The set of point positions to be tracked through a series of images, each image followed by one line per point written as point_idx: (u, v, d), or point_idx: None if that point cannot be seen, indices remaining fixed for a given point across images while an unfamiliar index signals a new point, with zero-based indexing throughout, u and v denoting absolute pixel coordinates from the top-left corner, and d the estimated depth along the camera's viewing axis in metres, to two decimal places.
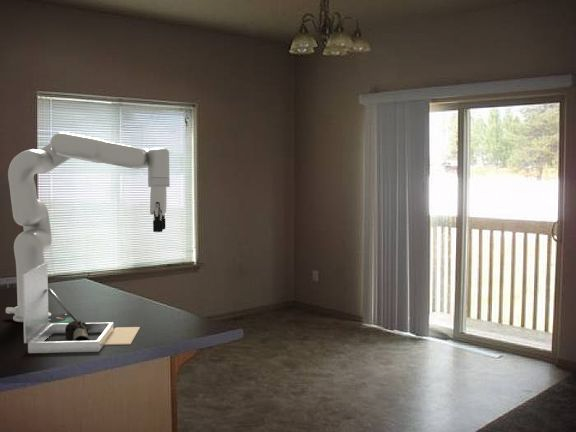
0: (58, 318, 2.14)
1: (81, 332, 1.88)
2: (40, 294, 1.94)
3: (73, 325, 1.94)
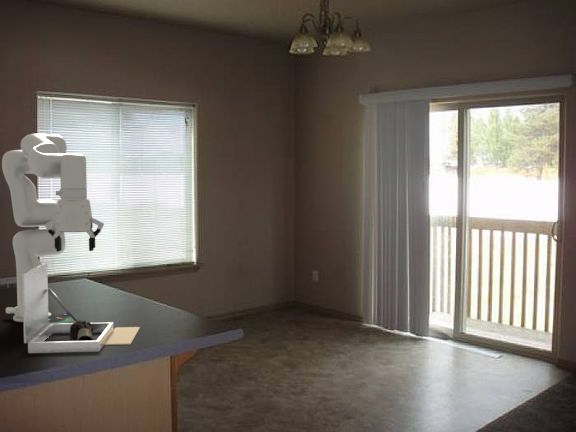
0: (58, 318, 2.14)
1: (85, 332, 1.88)
2: (40, 294, 1.94)
3: (78, 325, 1.95)
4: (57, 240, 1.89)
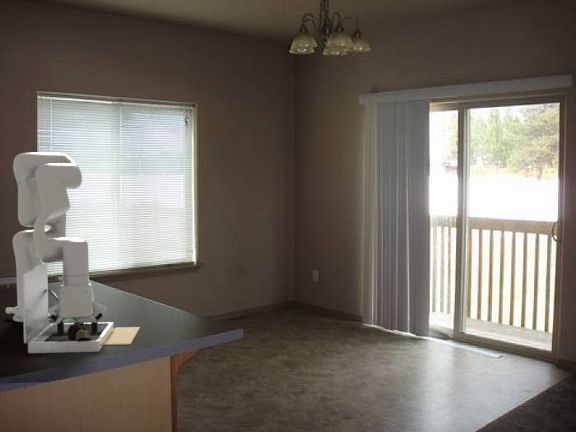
0: None
1: (84, 333, 1.87)
2: (40, 294, 1.94)
3: (76, 326, 1.93)
4: (60, 326, 1.90)
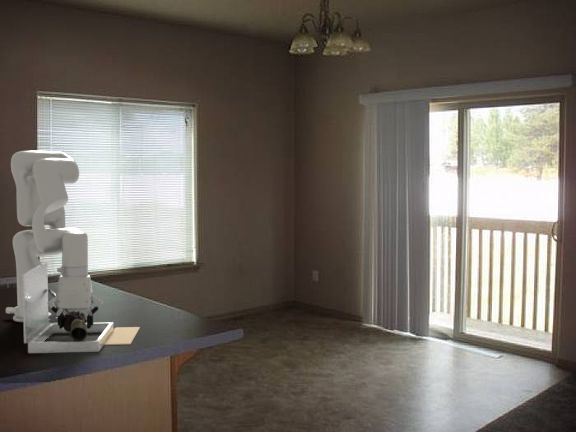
0: (57, 318, 2.14)
1: (79, 323, 1.87)
2: (40, 294, 1.94)
3: (71, 315, 1.93)
4: (60, 318, 1.91)
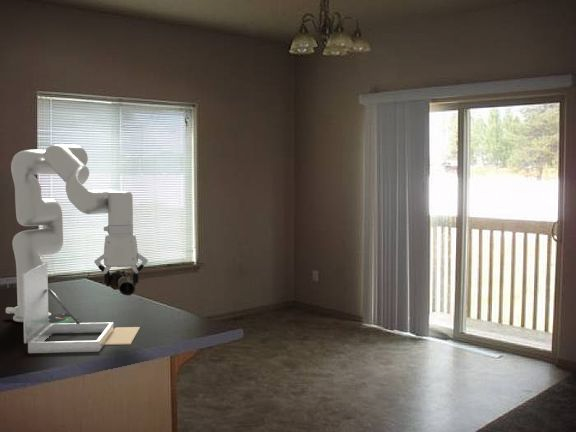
0: (57, 318, 2.14)
1: (126, 279, 1.92)
2: (40, 294, 1.94)
3: (117, 274, 1.98)
4: (107, 276, 1.96)
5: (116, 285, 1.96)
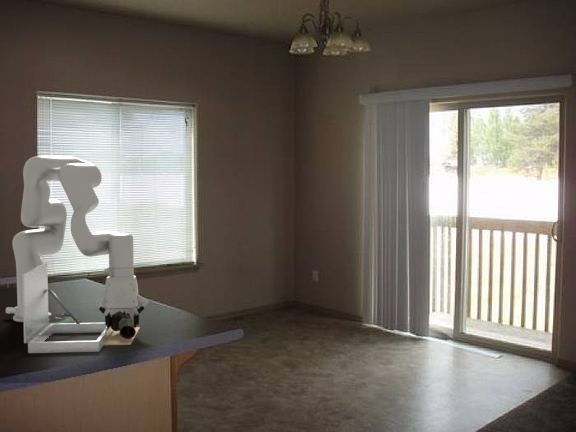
0: (57, 318, 2.14)
1: (127, 322, 1.93)
2: (40, 294, 1.94)
3: (118, 315, 1.99)
4: (108, 317, 1.97)
5: (117, 327, 1.97)
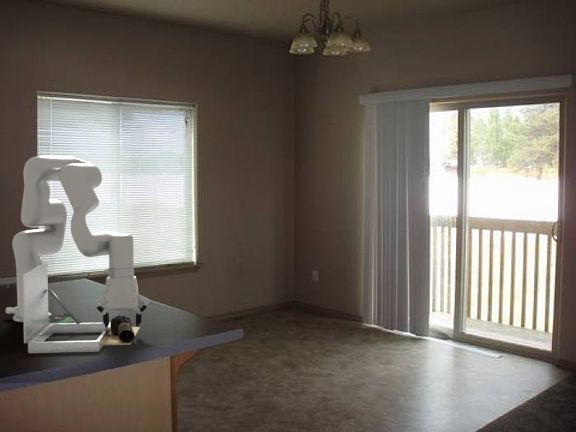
0: (57, 318, 2.14)
1: (126, 326, 1.93)
2: (40, 294, 1.94)
3: (118, 319, 1.99)
4: (106, 317, 1.97)
5: (116, 331, 1.97)
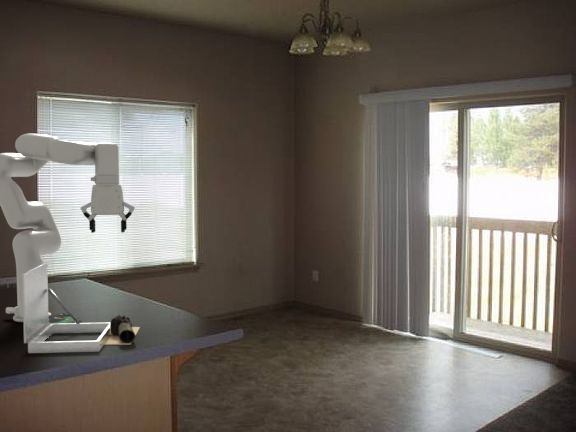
0: (57, 318, 2.14)
1: (126, 326, 1.93)
2: (40, 294, 1.94)
3: (118, 319, 1.99)
4: (92, 222, 2.05)
5: (116, 331, 1.97)
